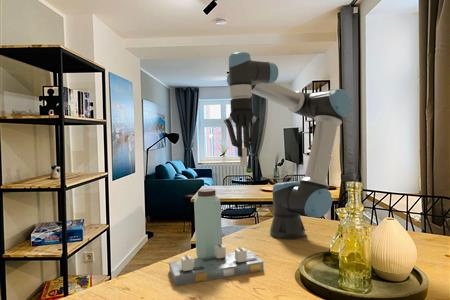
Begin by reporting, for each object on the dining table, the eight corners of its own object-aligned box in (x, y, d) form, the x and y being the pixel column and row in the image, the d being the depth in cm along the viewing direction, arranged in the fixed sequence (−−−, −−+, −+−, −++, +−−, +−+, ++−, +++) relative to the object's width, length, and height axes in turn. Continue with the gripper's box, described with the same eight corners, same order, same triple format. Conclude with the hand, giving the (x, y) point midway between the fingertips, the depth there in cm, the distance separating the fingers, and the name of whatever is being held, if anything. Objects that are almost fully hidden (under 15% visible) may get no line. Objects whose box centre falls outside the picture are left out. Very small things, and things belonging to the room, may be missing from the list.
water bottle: (219, 262, 119) (216, 192, 118) (192, 261, 121) (189, 192, 120) (225, 252, 128) (222, 187, 127) (200, 252, 130) (197, 187, 129)
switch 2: (223, 254, 117) (222, 243, 117) (225, 257, 114) (225, 245, 114) (214, 255, 116) (214, 244, 116) (217, 258, 113) (216, 247, 113)
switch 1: (190, 266, 108) (190, 254, 107) (192, 269, 105) (192, 257, 105) (181, 267, 107) (181, 255, 106) (183, 271, 104) (182, 258, 104)
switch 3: (243, 257, 113) (243, 246, 113) (246, 260, 110) (246, 249, 110) (235, 259, 112) (234, 247, 112) (238, 262, 109) (237, 250, 109)
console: (250, 258, 122) (249, 249, 122) (263, 270, 110) (263, 261, 110) (169, 271, 113) (169, 261, 113) (175, 286, 101) (175, 275, 101)
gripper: (254, 99, 123) (256, 164, 124) (220, 99, 119) (223, 166, 120) (262, 97, 115) (265, 165, 117) (226, 97, 111) (229, 168, 113)
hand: (243, 166), depth 118 cm, fingers closed
